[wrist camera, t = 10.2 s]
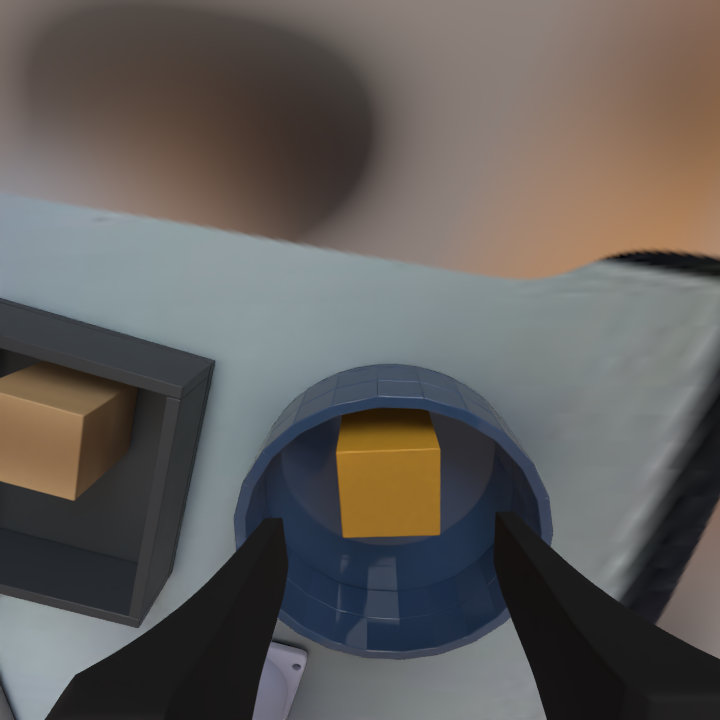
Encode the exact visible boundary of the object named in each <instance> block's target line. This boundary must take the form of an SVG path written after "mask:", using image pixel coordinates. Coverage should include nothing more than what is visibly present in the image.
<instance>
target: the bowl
mask: <svg viewBox="0 0 720 720" xmlns="http://www.w3.org/2000/svg"><path fill="white" fill-rule="evenodd" d="M378 408H409V409H423V410H426V411H429V414H430V417H431V420H432V424H433V427H434V430H435V433H436V437H437V440H438V443H439V447H440V535H436V536H395V537H354V538H344V537H343V536H342V524H341V512H340V500H339V488H338V475H337V463H336V448H337V442H338V436H339V430H340V424H341V419H342V415H343V414H348V413H353V412H358V411H363V410H368V409H378ZM509 511H514V512H515V513H516V514H517V515H518V516H520V517H521V518H522V519H523V520H524V521H525V522H526V523H527V525H528V526H529V527H530V528H531V529H532V530H533V531H534V532H535V533H537V534H538V535H539V536H540V537H541V538H542V539H543V540H544V541H545V542H546V543H547V544H548V545H549V546H551V541H552V536H553V526H552V518H551V510H550V501H549V497H548V494H547V491H546V489H545V487H544V485H543V483H542V481H541V479H540V477H539V474H538V472H537V470H536V468H535V466H534V464H533V462H532V461H531V459H530V458H529V456H528V455H527V453H526V452H525V451H524V449H523V448H522V446H521V445H520V443H519V442H518V440H517V439H516V437H515V436H514V434H513V433H512V432H511V430H510V429H509V427H508V426H507V424H506V423H505V422H504V421H503V420H502V419H501V417H500V416H499V415H498V414H497V413H496V411H495V410H494V409H493V408H492V407H491V406H490V405H489V404H488V403H487V402H486V401H485V400H484V399H483V398H482V397H481V396H480V395H478V394H477V393H476V392H474V391H473V390H471V389H470V388H469V387H467V386H466V385H464V384H462V383H460V382H458V381H456V380H455V379H453V378H451V377H449V376H446V375H443V374H440V373H438V372H435V371H432V370H428V369H424V368H419V367H415V366H406V365H397V364H390V365H372V366H365V367H359V368H355V369H351V370H348V371H344V372H341V373H338V374H336V375H333V376H331V377H329V378H326V379H324V380H322V381H321V382H319V383H317V384H315V385H314V386H312V387H310V388H309V389H307V390H306V391H305V392H304V393H302V394H301V395H300V396H298V397H297V398H296V399H295V400H294V401H293V402H292V403H291V404H290V405H289V406H288V407H287V408H286V409H285V410H284V411H283V412H282V414H281V415H280V416H279V418H278V419H277V421H276V422H275V424H274V425H273V427H272V429H271V431H270V432H269V434H268V436H267V437H266V439H265V440H264V442H263V444H262V446H261V448H260V450H259V452H258V454H257V456H256V458H255V460H254V461H253V463H252V465H251V467H250V469H249V471H248V473H247V475H246V477H245V479H244V481H243V483H242V486H241V490H240V494H239V498H238V502H237V506H236V510H235V514H234V527H235V541H236V551H237V550H238V549H239V548H240V547H241V545H242V544H243V543H244V542H245V541H246V539H247V538H248V537H249V536H250V535H251V533H252V532H253V531H254V530H255V529H256V527H257V526H258V525H259V524H260V523H261V522H262V520H263V519H264V518H282V519H283V526H284V534H285V541H286V549H287V556H288V564H289V568H288V574H287V580H286V586H285V592H284V597H283V601H282V604H281V608H280V611H279V615H278V618H279V619H280V620H281V621H283V622H284V623H285V624H286V625H288V626H289V627H290V628H291V629H293V630H294V631H295V632H297V633H298V634H300V635H302V636H304V637H306V638H308V639H310V640H312V641H314V642H316V643H318V644H320V645H323V646H325V647H327V648H330V649H332V650H336V651H340V652H344V653H348V654H352V655H355V656H359V657H363V658H377V659H395V660H402V659H403V660H405V659H412V658H419V657H426V656H433V655H438V654H442V653H445V652H448V651H451V650H454V649H456V648H459V647H462V646H465V645H468V644H470V643H473V642H475V641H477V640H478V639H480V638H482V637H483V636H485V635H486V634H488V633H490V632H491V631H493V630H494V629H496V628H498V627H499V626H501V625H502V624H504V622H506V621H507V620H508V619H509V618H510V617H511V616H510V613H509V611H508V608H507V606H506V603H505V601H504V598H503V595H502V593H501V589H500V585H499V582H498V578H497V574H496V570H495V567H494V563H493V556H494V535H495V514H496V512H509Z"/></svg>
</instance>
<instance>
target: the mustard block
mask: <svg viewBox="0 0 720 720" xmlns="http://www.w3.org/2000/svg"><path fill="white" fill-rule="evenodd" d="M336 463H337V475H338V488H339V500H340V512H341V524H342V536H343V537H344V538H354V537H395V536H436V535H440V447H439V443H438V440H437V437H436V433H435V430H434V427H433V424H432V420H431V417H430V414H429V411H426V410H423V409H409V408H378V409H368V410H363V411H358V412H353V413H348V414H343V415H342V419H341V424H340V430H339V436H338V442H337V448H336Z"/></svg>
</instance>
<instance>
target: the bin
mask: <svg viewBox="0 0 720 720" xmlns="http://www.w3.org/2000/svg"><path fill="white" fill-rule="evenodd" d="M42 361H47V362H51V363H54V364H58V365H61V366H65V367H68V368H72V369H75V370H79V371H82V372H86V373H89V374H93V375H96V376H100V377H103V378H107V379H110V380H114V381H117V382H121V383H124V384H128V385H131V386H135V387H138V391H137V398H136V405H135V411H134V418H133V425H132V431H131V438H130V445H129V451H128V453H126V454H125V455H124V456H123V457H122V458H121V459H120V460H119V461H118V462H116V463H115V464H114V465H113V466H112V467H111V468H110V469H109V470H108V471H107V472H105V473H104V474H103V475H102V476H101V477H100V478H99V479H98V480H97V481H96V482H94V483H93V484H92V485H91V486H90V487H89V488H88V489H87V490H86V491H84V492H83V493H82V494H81V495H80V496H79V497H78V498H77V499H76V500H69V499H65V498H62V497H58V496H54V495H50V494H46V493H43V492H39V491H35V490H31V489H28V488H24V487H20V486H16V485H13V484H9V483H5V482H1V481H0V594H4V595H8V596H12V597H16V598H20V599H24V600H28V601H32V602H36V603H40V604H44V605H48V606H52V607H56V608H59V609H63V610H67V611H71V612H75V613H79V614H83V615H87V616H91V617H95V618H99V619H103V620H107V621H111V622H115V623H119V624H123V625H127V626H131V627H135V628H139V627H140V625H141V624H142V622H143V620H144V619H145V617H146V615H147V614H148V612H149V610H150V608H151V607H152V605H153V603H154V602H155V600H156V598H157V597H158V595H159V593H160V591H161V590H162V588H163V586H164V585H165V583H166V581H167V579H168V578H169V576H170V574H171V573H172V568H173V563H174V558H175V553H176V549H177V544H178V539H179V534H180V529H181V524H182V519H183V514H184V510H185V505H186V500H187V495H188V490H189V485H190V480H191V476H192V471H193V466H194V461H195V456H196V451H197V446H198V442H199V437H200V432H201V427H202V422H203V417H204V412H205V408H206V403H207V398H208V393H209V388H210V383H211V378H212V374H213V369H214V364H215V361H214V360H211V359H207V358H204V357H200V356H197V355H194V354H190V353H187V352H183V351H180V350H176V349H173V348H170V347H166V346H163V345H159V344H156V343H152V342H149V341H146V340H142V339H139V338H135V337H132V336H128V335H125V334H122V333H118V332H115V331H111V330H108V329H104V328H101V327H98V326H94V325H91V324H87V323H84V322H80V321H77V320H74V319H70V318H67V317H63V316H60V315H56V314H53V313H50V312H46V311H43V310H39V309H36V308H32V307H29V306H26V305H22V304H19V303H15V302H12V301H8V300H5V299H2V298H0V378H2V377H4V376H7V375H9V374H12V373H14V372H17V371H19V370H22V369H24V368H27V367H29V366H32V365H34V364H37V363H40V362H42Z"/></svg>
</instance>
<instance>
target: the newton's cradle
mask: <svg viewBox="0 0 720 720" xmlns="http://www.w3.org/2000/svg"><path fill="white" fill-rule="evenodd" d="M0 720H14V717H13V715H12V712H11V710H10V707H9V705H8V702H7V700H6V697H5V695H4V692H3V690H2V687H1V685H0Z"/></svg>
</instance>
